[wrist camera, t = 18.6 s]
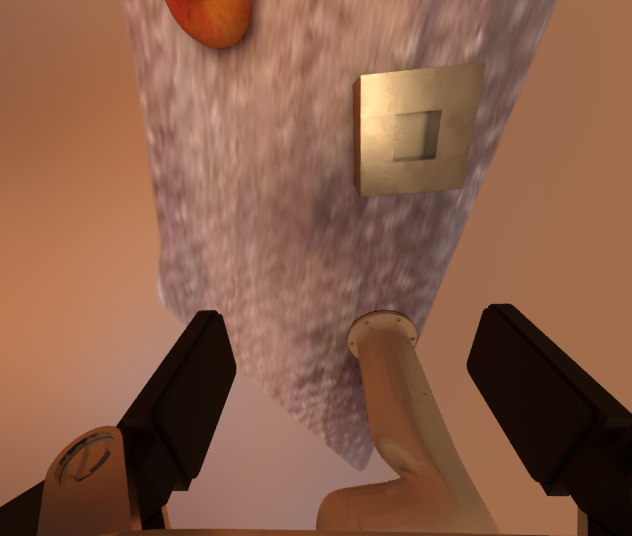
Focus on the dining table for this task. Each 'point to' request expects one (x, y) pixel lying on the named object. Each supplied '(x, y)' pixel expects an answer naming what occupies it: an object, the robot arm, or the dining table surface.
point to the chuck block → (414, 128)
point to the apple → (212, 20)
